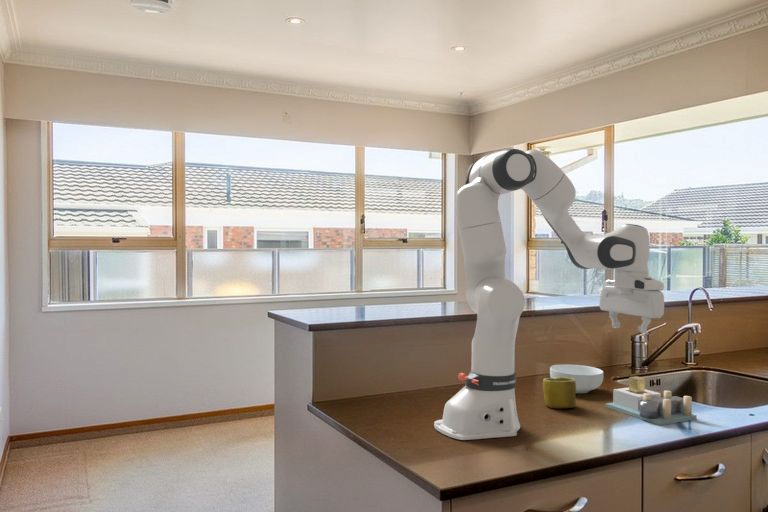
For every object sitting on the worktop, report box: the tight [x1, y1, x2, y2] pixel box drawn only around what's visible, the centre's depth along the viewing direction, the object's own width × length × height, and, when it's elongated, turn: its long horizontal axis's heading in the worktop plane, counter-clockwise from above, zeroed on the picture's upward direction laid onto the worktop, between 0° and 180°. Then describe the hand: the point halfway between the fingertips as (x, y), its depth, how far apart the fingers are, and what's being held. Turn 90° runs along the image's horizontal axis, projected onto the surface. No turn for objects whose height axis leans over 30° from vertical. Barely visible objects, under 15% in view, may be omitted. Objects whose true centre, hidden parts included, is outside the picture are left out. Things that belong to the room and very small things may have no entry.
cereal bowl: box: [549, 363, 604, 394], centre depth 191 cm, size 17×17×7 cm
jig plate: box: [604, 386, 698, 426], centre depth 166 cm, size 14×19×6 cm
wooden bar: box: [628, 375, 646, 394], centre depth 170 cm, size 3×3×8 cm
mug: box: [542, 377, 577, 409], centre depth 173 cm, size 12×10×10 cm
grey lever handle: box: [640, 395, 684, 419], centre depth 161 cm, size 14×5×4 cm, turn 114°
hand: (628, 330), depth 166 cm, fingers open, 8 cm apart
